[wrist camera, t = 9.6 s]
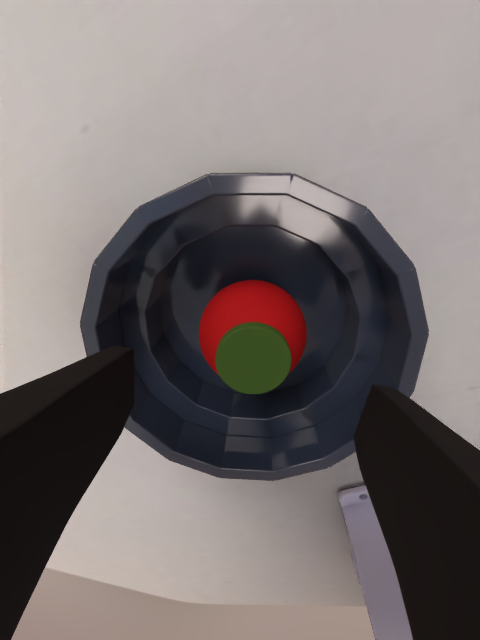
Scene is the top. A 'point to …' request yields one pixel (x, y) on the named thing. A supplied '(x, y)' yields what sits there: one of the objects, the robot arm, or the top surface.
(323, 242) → the bowl
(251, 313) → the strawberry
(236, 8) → the top surface
